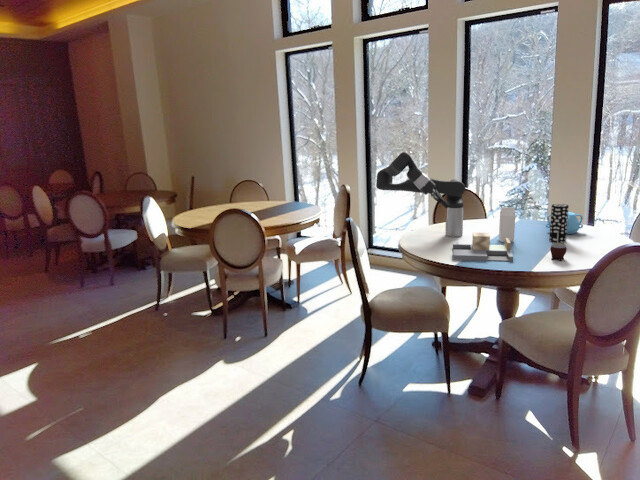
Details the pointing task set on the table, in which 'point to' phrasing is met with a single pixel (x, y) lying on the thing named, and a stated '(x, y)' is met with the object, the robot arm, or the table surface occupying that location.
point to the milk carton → (507, 224)
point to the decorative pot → (570, 222)
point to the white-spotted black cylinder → (558, 222)
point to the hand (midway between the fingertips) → (448, 206)
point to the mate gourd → (558, 250)
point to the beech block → (481, 241)
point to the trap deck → (483, 252)
